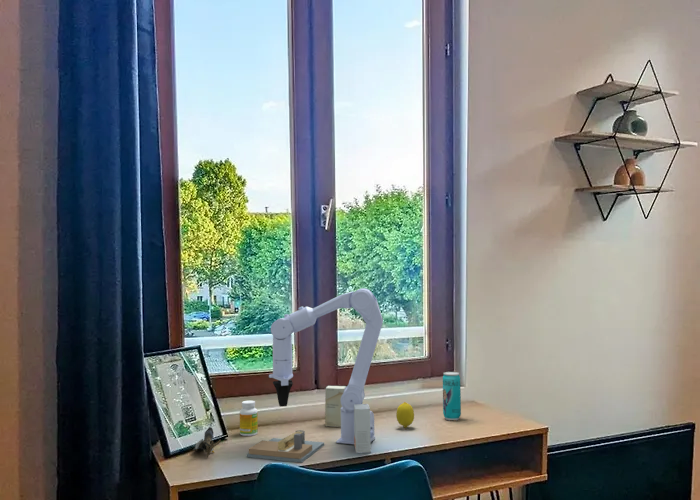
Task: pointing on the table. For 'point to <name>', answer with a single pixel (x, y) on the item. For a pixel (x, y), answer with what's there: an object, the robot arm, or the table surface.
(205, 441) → the eagle figurine
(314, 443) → the latch board
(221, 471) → the table surface
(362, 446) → the skincare box
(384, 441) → the table surface
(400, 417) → the lemon
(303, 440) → the swing bar
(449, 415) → the beverage can
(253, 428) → the supplement bottle
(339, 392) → the skincare box
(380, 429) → the table surface
